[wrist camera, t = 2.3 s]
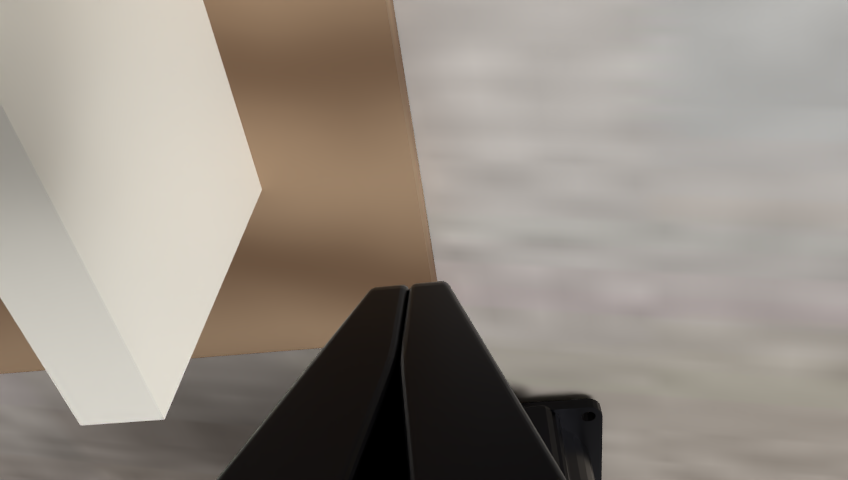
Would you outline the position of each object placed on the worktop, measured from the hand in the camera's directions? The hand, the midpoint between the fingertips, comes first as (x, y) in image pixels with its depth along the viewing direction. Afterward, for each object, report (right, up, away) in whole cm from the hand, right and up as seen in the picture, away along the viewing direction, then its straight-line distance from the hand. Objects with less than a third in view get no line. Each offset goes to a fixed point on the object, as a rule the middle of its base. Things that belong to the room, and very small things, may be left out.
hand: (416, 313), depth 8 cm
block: (-6, +5, +9) cm, 12 cm away
